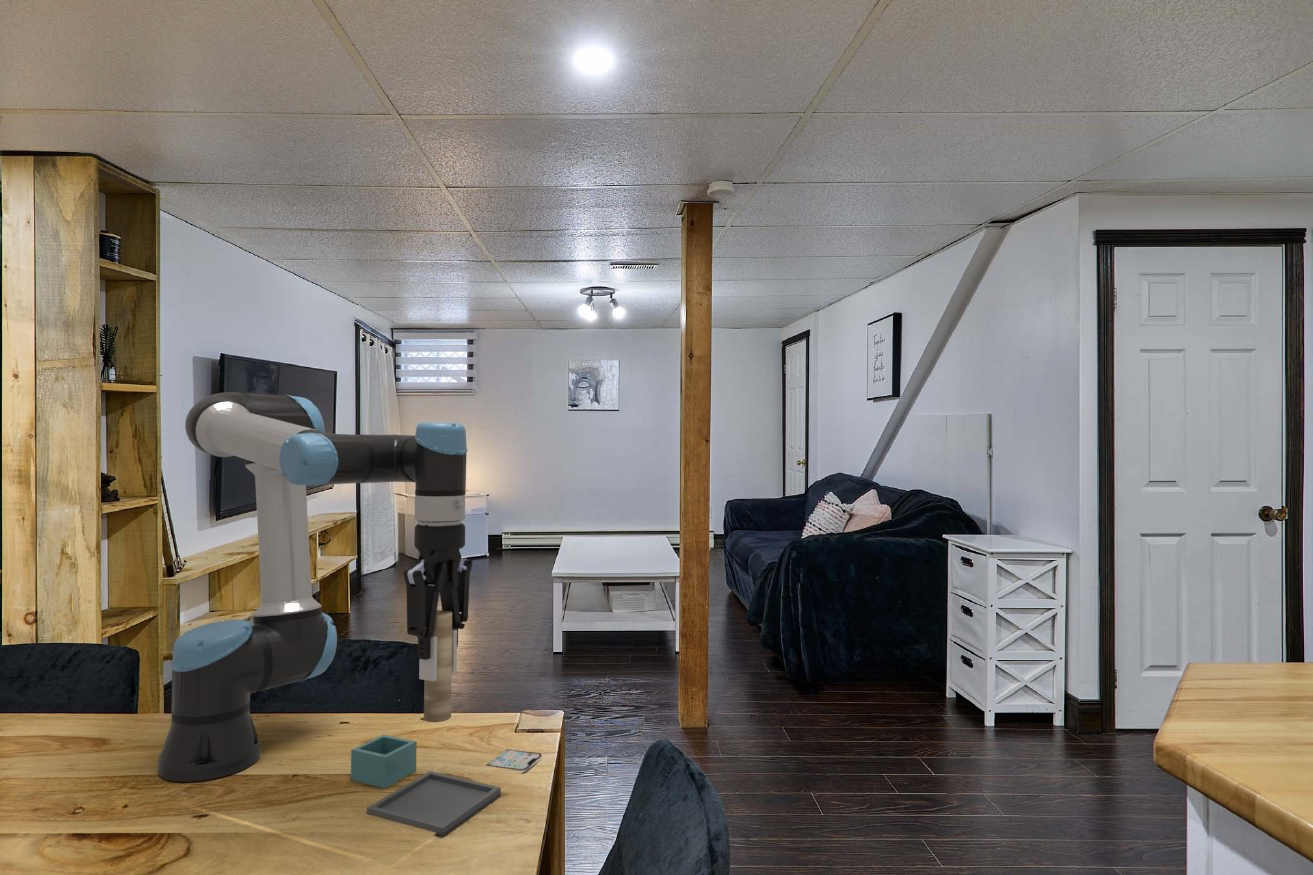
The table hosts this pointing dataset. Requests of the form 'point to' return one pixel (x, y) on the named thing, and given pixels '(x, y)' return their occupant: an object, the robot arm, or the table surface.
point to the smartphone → (515, 760)
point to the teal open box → (383, 761)
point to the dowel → (440, 672)
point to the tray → (436, 802)
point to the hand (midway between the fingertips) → (438, 674)
